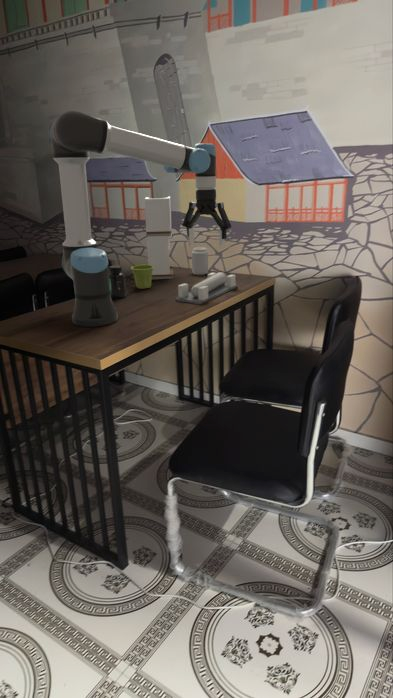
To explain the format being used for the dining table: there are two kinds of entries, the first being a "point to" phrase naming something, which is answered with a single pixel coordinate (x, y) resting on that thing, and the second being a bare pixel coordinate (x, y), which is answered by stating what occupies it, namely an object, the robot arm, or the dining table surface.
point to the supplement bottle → (117, 282)
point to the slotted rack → (205, 291)
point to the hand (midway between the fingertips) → (206, 246)
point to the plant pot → (143, 275)
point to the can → (199, 261)
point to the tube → (210, 283)
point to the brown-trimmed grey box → (158, 236)
